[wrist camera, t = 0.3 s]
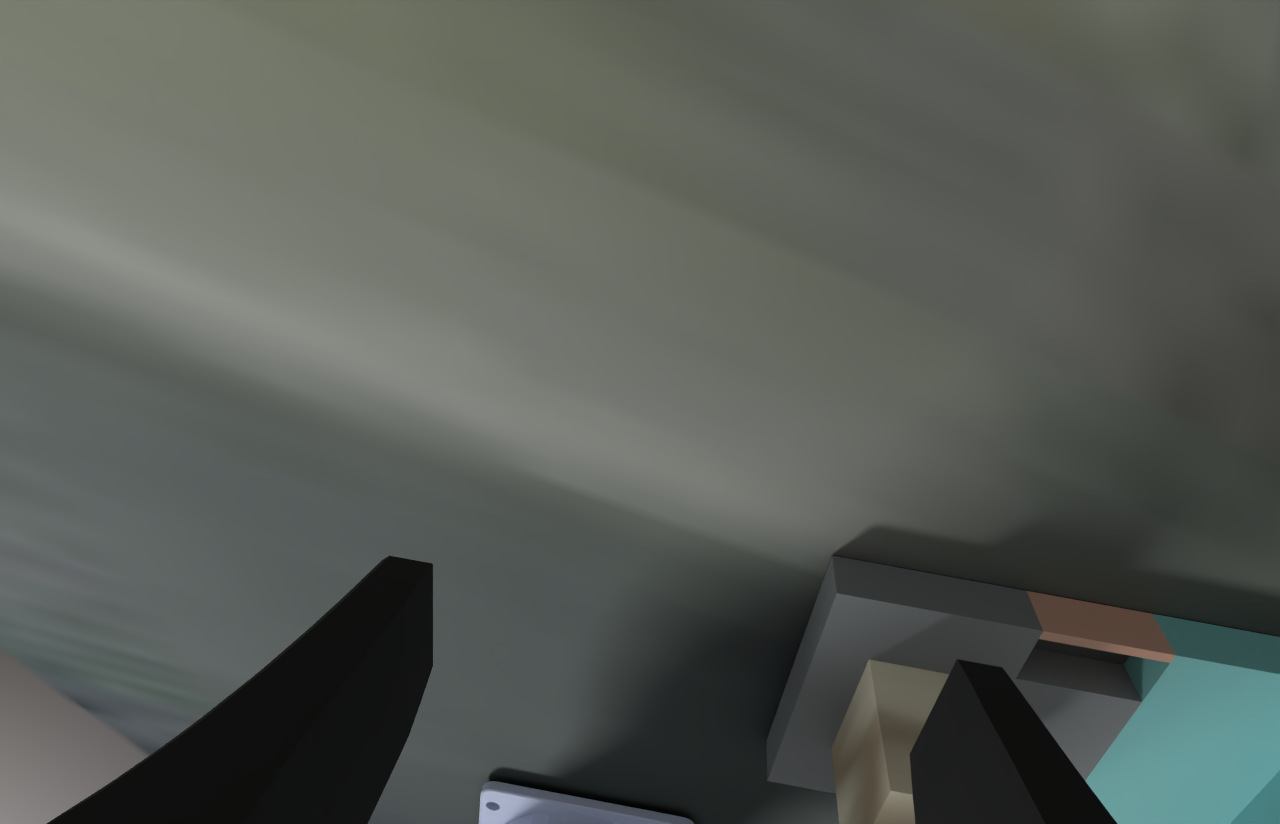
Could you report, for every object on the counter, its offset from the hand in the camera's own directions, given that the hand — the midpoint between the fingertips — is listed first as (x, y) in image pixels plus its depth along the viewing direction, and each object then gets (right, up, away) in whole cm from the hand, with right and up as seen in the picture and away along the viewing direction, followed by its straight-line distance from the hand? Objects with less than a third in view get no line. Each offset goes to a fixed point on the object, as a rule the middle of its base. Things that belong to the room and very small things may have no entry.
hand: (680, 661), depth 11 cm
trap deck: (+11, -5, +14) cm, 18 cm away
